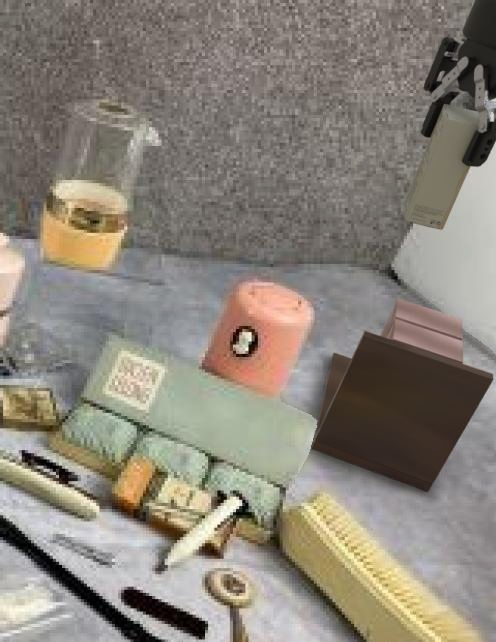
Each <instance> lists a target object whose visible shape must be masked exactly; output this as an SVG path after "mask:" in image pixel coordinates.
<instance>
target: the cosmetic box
mask: <svg viewBox="0 0 496 642" xmlns="http://www.w3.org/2000/svg"><path fill="white" fill-rule="evenodd" d="M478 116H479V113H478V111H477V110H472V109H467V108H465V107H464V108H463V107H461V106H460V107H459V106H455V105H452V104H450V105H447V104H444V105H443V108H442V110H441V113H440V115H439V118H438V120H437V123H436V125H435V127H434V130H433V132H432V135H431V137H430V138H429V140H428V142H427V145H426V147H425V150H424V152H423V154H422V157H421V159H420V161H419V164H418V167H417V169H416V172H415V174H414V177H413V179H412V182H411V184H410V186H409V189H408V191H407V194H406V196H405V199H404V201H403V216H404V221H405V222H409V223H412V224H416V225H419V226H423V227H427V228H431V229H436V230H440V231H443V230H444V228H445V225H446V224H447V221H448V219H449V216H450V214H451V212H452V210H453V208H454V205H455V203H456V201H457V198H458V196H459V193H460V191H461V189H462V186H463V184H464V182H465V180H466V178H467V176H468V173H469V171H470V169H471V167H472V166H466V165H465V164H464V163H462V159H463V157H464V155H465V152H466V150H467V148H468V146H469V144H470V142H471V139H472V137H473V135H474V133H475V131H478Z"/></svg>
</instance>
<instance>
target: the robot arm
mask: <svg viewBox="0 0 496 642" xmlns="http://www.w3.org/2000/svg"><path fill="white" fill-rule="evenodd" d="M462 35H463V37H464V38H460V37H451V36H445V37H443V38H442V39H441V42H440V45H439V47H438V50H437V52H436V55H435V56H434V60H433V62H432V64H431V66H430V69H429V71H428V73H427V76H426V79H425V81H424V83H423V90H424V91H425V92H429V94H430V101H431V104H430V106H429V108H428V111H427V113H426V116H425V118H424V120H423V123H422V128H421V130H420V134H421V135H422V136H423V137H425V138H426V139H427V138H429V139H430V137H431V135H432V132H433V130H434V127H435V125H436V123H437V120H438V118H439V115H440V113H441V110H442V108H443V105H444V104H447V105H452V104H454V103H455V102H456V101H457V100H459V99H460V98H461V97H462V96H463V95H464V94H467V93H468V94H469V96H470V97H471V98H473V99H474V109H475V111H477V112H478V113H479V116H478V131H475V133H474V135H473V137H472V139H471V142H470V144H469V146H468V148H467V150H466V152H465V155H464V157H463V159H462V163H464V164H465V165H466V166H471V167H474V168H479V167H482V165H483V164H485V163H486V162H487V161H488V159H489V156H490V155H491V153H492V150H493V148H494V146H495V144H496V101H492V100H496V0H474V2H473V4H472V6H471V9H470V11H469V13H468V15H467V18H466V20H465V23H464V25H463V27H462ZM441 72H443V75H442V77H441V79H440V80H438V79H439V76H440V75H441ZM492 113H493V121H492V120H491V118H492Z"/></svg>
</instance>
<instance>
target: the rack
mask: <svg viewBox="0 0 496 642" xmlns="http://www.w3.org/2000/svg"><path fill="white" fill-rule="evenodd" d="M463 339H464V336H463V318H460V317H457V316H453V315H451V314H448V313H445V312H441V311H439V310H435V309H433V308H430V307H427V306H423V305H420V304H417V303H414V302H411V301H407V300H405V299H402V298H399V297H398V298H397V299H396V301H395V303H394V305H393V307H392V309H391V312H390V313H389V316H388V317H387V320H386V322H385V323H384V326H383V328H382V330H381V332H380V334H376V333H373V332H370V331H367V330H364V331H363V333H362V335H361V337H360V339H359V342H358V344H357V346H356V348H355V350H354V353H353V355H352V357H348V356H345V355H343V354H339V353H337V352H333V353H332V356H331V358H330V361H329V366H328V370H327V375H326V380H325V384H324V388H323V393H322V398H321V402H320V406H319V411H318V416H317V421H316V425H317V428H316V427H315V429H316V430H315V429H314V434H313V438H312V444H311V449H312V450H314V451H317V452H320V453H323V454H325V455H328V456H331V457H333V458H336V459H339V460H342V461H344V462H347V463H350V464H352V465H355V466H357V467H360V468H363V469H365V470H368V471H371V472H374V473H376V474H379V475H382V476H383V477H386V478H390V479H392V480H396V481H398V482H401V483H403V484H406V485H408V486H412V487H415V488H417V489H419V490H423V491H425V492H430V490H431V488H432V487H433V484H434V483H435V482H436V480H437V478H438V477H439V475H440V473H441V471H442V470H443V468H444V466H445V464H446V463H447V461H448V459H449V457H450V455H451V454H452V452H453V450H454V449H455V447H456V445H457V444H458V442H459V440H460V439H461V437H462V435H463V433H464V431H465V430H466V428H467V426H468V424H469V423H470V421H471V419H472V418H473V416H474V414H475V413H476V411H477V409H478V407H479V406H480V404H481V402H482V400H483V399H484V397H485V395H486V393H487V392H488V390H489V388H490V386H491V385H492V383H493V381H494V373H492V372H489V371H486V370H482V369H479V368H477V367H474V366H471V365H467V364H465V363H464V343H463V342H464V341H463Z"/></svg>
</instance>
